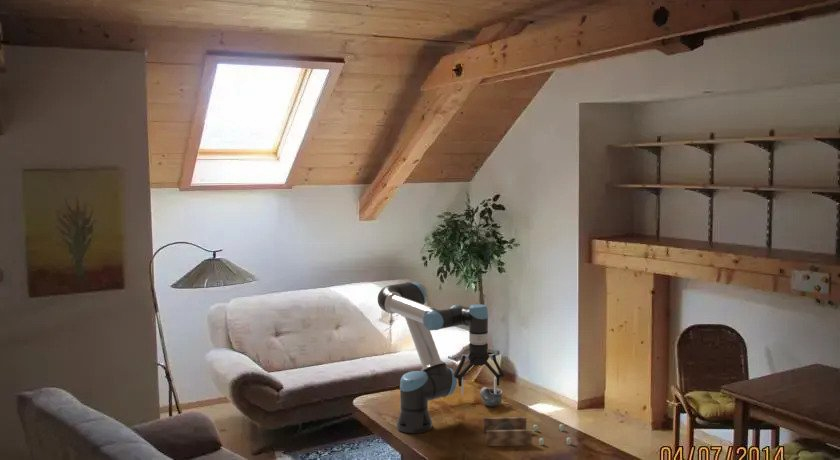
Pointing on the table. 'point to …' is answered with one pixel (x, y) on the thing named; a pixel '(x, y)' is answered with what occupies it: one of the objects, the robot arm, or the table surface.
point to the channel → (507, 432)
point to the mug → (490, 396)
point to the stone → (504, 426)
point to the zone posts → (541, 440)
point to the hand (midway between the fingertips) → (478, 393)
